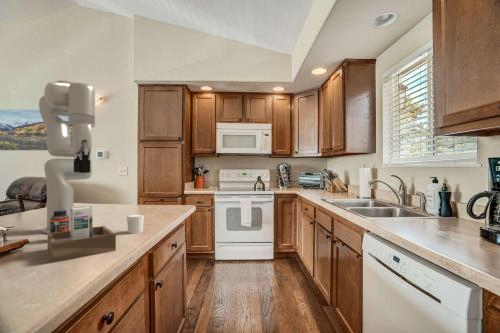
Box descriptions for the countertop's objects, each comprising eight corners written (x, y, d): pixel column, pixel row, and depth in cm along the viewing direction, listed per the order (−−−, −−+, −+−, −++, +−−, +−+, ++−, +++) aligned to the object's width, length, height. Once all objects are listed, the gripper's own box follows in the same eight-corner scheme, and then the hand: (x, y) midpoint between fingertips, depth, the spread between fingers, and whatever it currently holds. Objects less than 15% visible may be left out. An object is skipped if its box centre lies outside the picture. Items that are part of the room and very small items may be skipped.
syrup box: (72, 253, 84) (72, 208, 84) (70, 249, 89) (70, 206, 89) (92, 250, 88) (92, 206, 88) (89, 246, 92) (89, 205, 92)
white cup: (123, 233, 111) (123, 216, 111) (135, 229, 117) (135, 213, 117) (135, 234, 109) (135, 217, 109) (147, 230, 115) (147, 214, 115)
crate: (47, 249, 88) (47, 233, 88) (103, 240, 100) (104, 225, 100) (52, 262, 76) (52, 243, 76) (115, 250, 88) (115, 234, 88)
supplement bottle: (59, 242, 97) (59, 211, 97) (45, 241, 98) (45, 211, 98) (73, 238, 103) (73, 209, 103) (60, 237, 104) (60, 208, 104)
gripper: (64, 123, 92) (64, 172, 92) (72, 116, 79) (72, 173, 79) (89, 125, 97) (89, 171, 97) (100, 119, 84) (100, 172, 84)
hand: (81, 172), depth 88 cm, fingers open, 9 cm apart
